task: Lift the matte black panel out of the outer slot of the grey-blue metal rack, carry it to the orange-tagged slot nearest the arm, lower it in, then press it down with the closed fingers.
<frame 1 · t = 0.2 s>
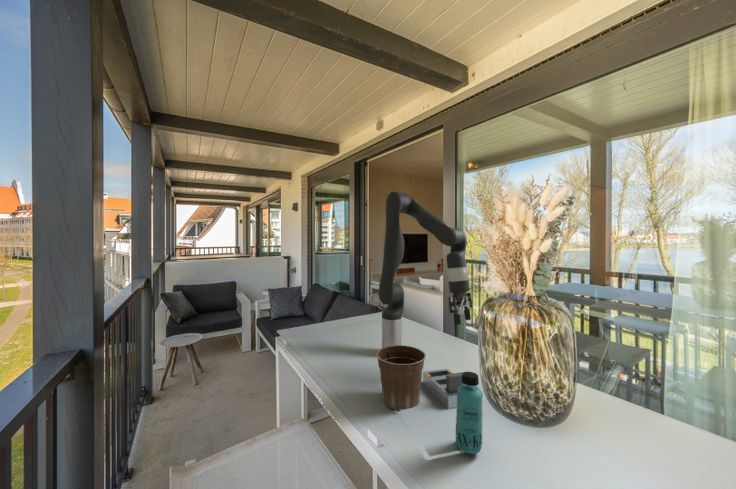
hand: (463, 322, 115), 23 cm above the table, tool pointing down, fingers open, 8 cm apart
plant pot: (400, 402, 101), on the table
beverage bottle: (468, 452, 77), on the table
panel: (456, 401, 99), point 1 cm above the table, touching rack
rack: (447, 395, 105), on the table
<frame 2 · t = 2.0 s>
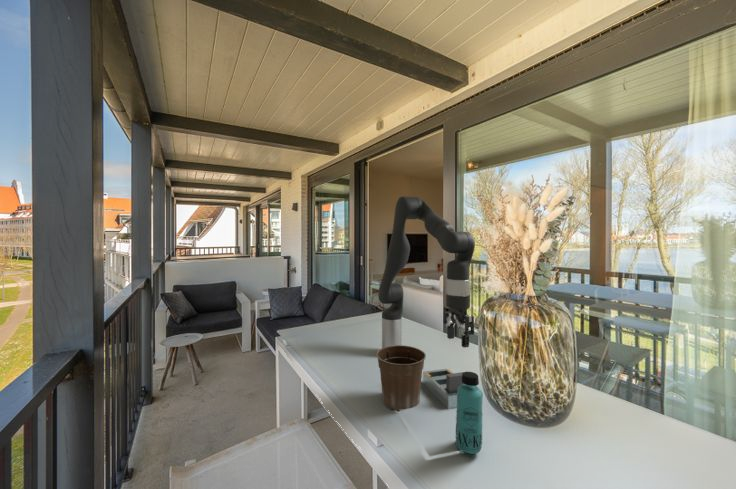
hand: (457, 342, 98), 21 cm above the table, tool pointing down, fingers open, 8 cm apart
nothing on the table moved.
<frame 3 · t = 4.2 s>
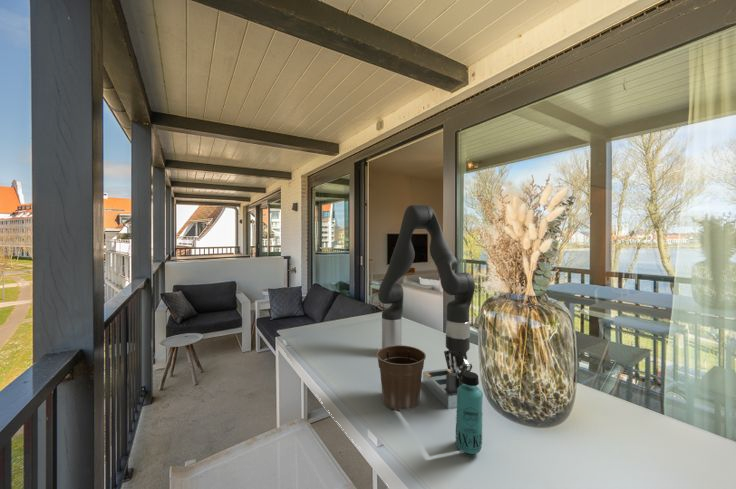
hand: (457, 386, 99), 6 cm above the table, tool pointing down, fingers closed on panel, 2 cm apart
panel: (456, 401, 99), point 1 cm above the table, touching gripper
everything else where it was.
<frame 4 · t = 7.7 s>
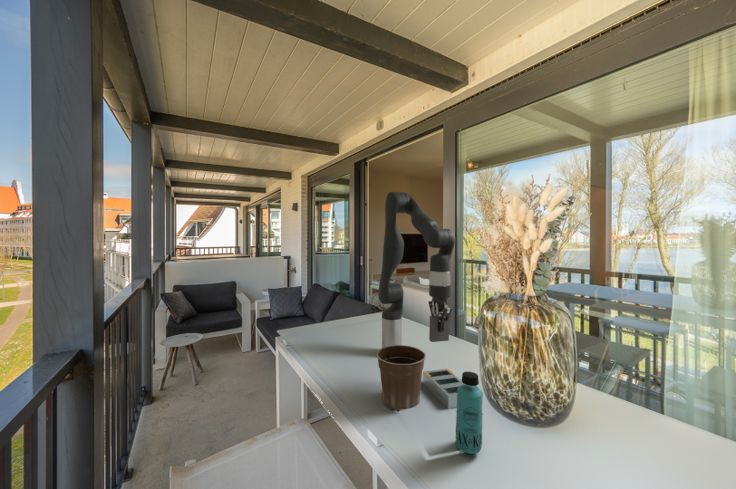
hand: (439, 330, 110), 21 cm above the table, tool pointing down, fingers closed on panel
panel: (439, 340, 110), point 17 cm above the table, touching gripper
everything else where it was.
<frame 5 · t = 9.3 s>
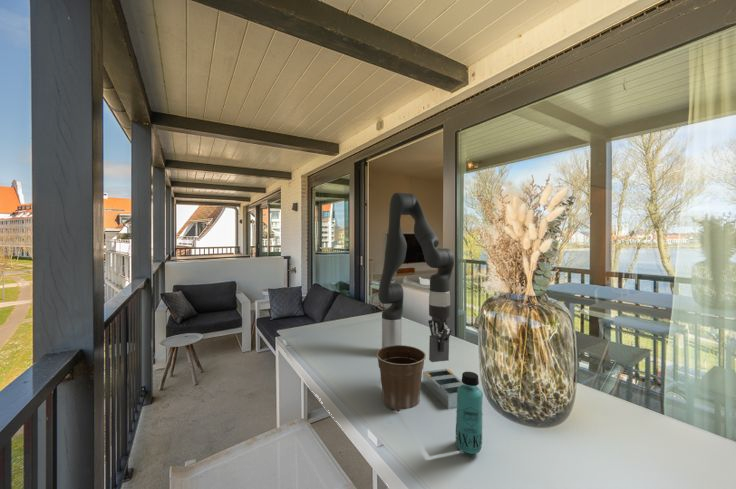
hand: (439, 350, 110), 14 cm above the table, tool pointing down, fingers closed on panel
panel: (438, 360, 110), point 10 cm above the table, touching gripper
everything else where it was.
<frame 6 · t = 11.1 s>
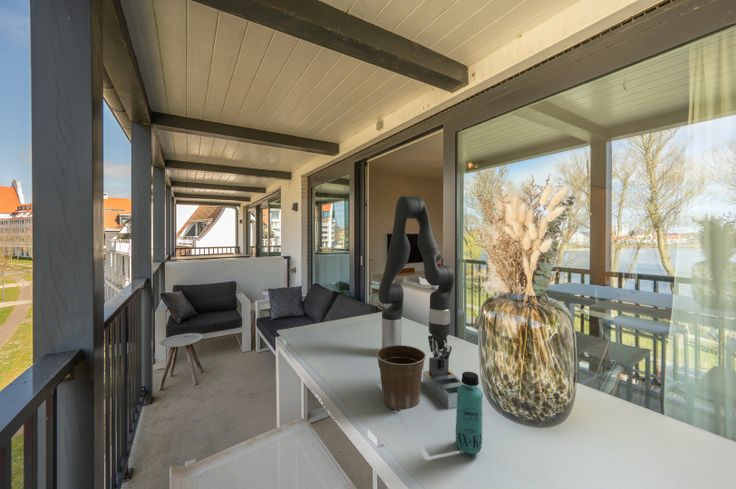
hand: (438, 367, 110), 7 cm above the table, tool pointing down, fingers closed
panel: (438, 382, 110), point 2 cm above the table
everything else where it was.
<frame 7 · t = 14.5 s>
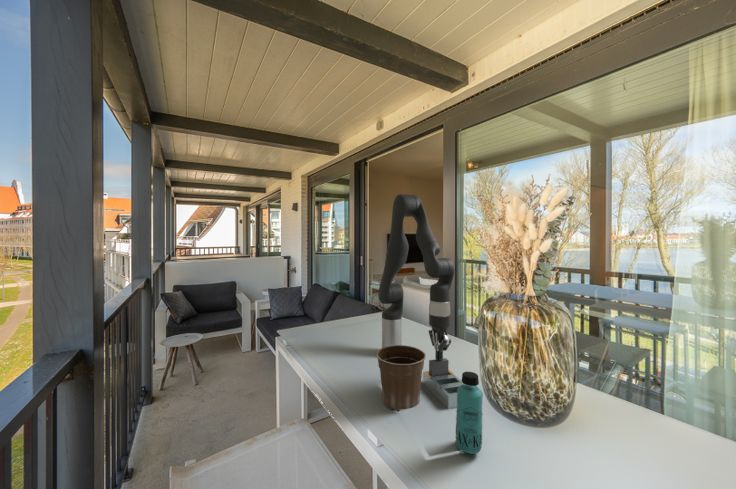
hand: (439, 360, 110), 10 cm above the table, tool pointing down, fingers closed
panel: (438, 384, 110), point 1 cm above the table, touching gripper, rack
everything else where it was.
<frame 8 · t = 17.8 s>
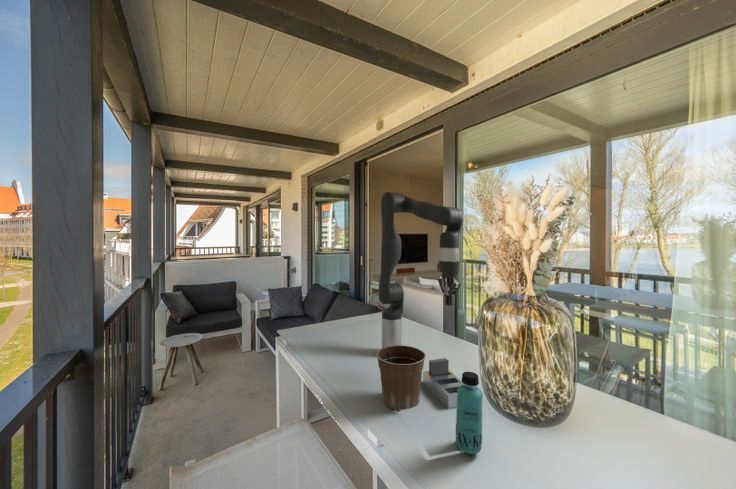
hand: (448, 305, 115), 29 cm above the table, tool pointing down, fingers closed
panel: (438, 384, 110), point 1 cm above the table, touching rack
everything else where it was.
at the end: panel 0.1 cm from the target spot on the rack, point 1.0 cm above the rack's base; panel tilted 0°; the gripper is holding nothing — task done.
